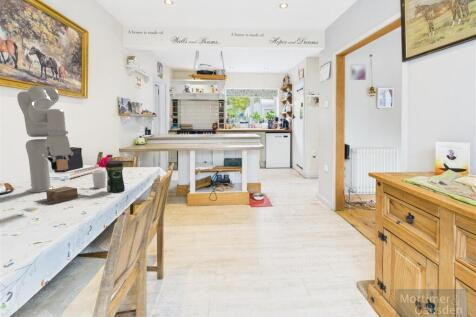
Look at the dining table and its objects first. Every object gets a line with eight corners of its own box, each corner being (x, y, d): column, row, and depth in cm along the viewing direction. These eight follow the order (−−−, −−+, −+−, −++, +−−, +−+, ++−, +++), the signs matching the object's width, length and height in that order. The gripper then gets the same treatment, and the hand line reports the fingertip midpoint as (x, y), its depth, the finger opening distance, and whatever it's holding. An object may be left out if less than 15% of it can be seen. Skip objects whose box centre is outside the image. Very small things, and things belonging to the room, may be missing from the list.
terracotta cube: (52, 169, 142) (51, 160, 141) (62, 168, 146) (61, 159, 146) (58, 170, 140) (57, 160, 139) (68, 169, 144) (67, 159, 144)
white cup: (101, 188, 175) (100, 172, 174) (90, 188, 177) (89, 172, 175) (109, 185, 183) (108, 170, 182) (98, 185, 184) (97, 170, 183)
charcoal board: (33, 204, 140) (33, 201, 140) (72, 195, 157) (72, 192, 157) (51, 208, 133) (51, 205, 132) (90, 198, 150) (90, 195, 150)
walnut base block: (47, 199, 143) (46, 190, 142) (66, 195, 152) (65, 186, 151) (58, 202, 138) (57, 192, 138) (77, 197, 147) (77, 188, 146)
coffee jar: (122, 188, 173) (120, 159, 171) (126, 191, 167) (124, 160, 165) (105, 191, 167) (103, 160, 165) (109, 193, 161) (107, 162, 159)
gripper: (69, 133, 150) (72, 166, 152) (34, 134, 135) (38, 170, 137) (78, 133, 147) (80, 167, 149) (43, 134, 132) (46, 171, 134)
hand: (60, 168), depth 143 cm, fingers closed on terracotta cube, 5 cm apart
